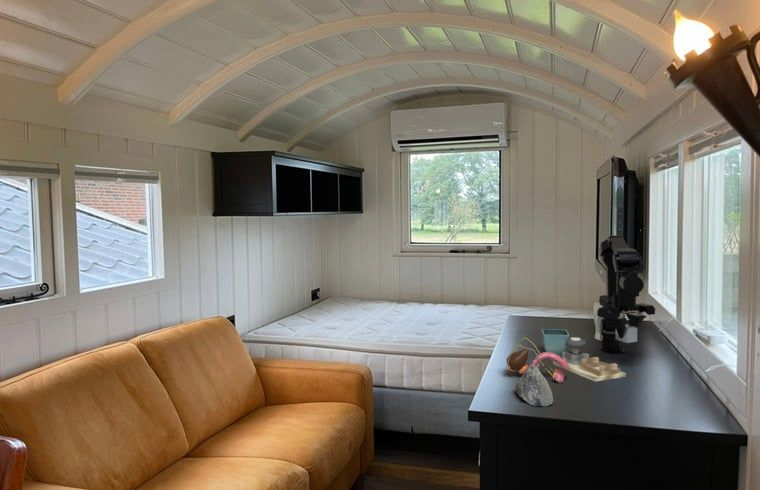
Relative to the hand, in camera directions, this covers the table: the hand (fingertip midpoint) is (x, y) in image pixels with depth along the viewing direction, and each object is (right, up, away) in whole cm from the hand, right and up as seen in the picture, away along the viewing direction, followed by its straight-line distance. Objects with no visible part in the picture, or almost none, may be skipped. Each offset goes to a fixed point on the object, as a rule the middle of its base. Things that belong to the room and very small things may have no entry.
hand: (626, 337), depth 173 cm
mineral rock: (-37, -14, -23) cm, 45 cm away
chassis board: (-12, -11, +2) cm, 16 cm away
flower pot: (-17, -10, +19) cm, 27 cm away
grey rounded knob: (-14, -7, +7) cm, 17 cm away
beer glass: (+10, -8, +42) cm, 44 cm away
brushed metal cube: (0, -1, 0) cm, 1 cm away
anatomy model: (-30, -12, -5) cm, 33 cm away
